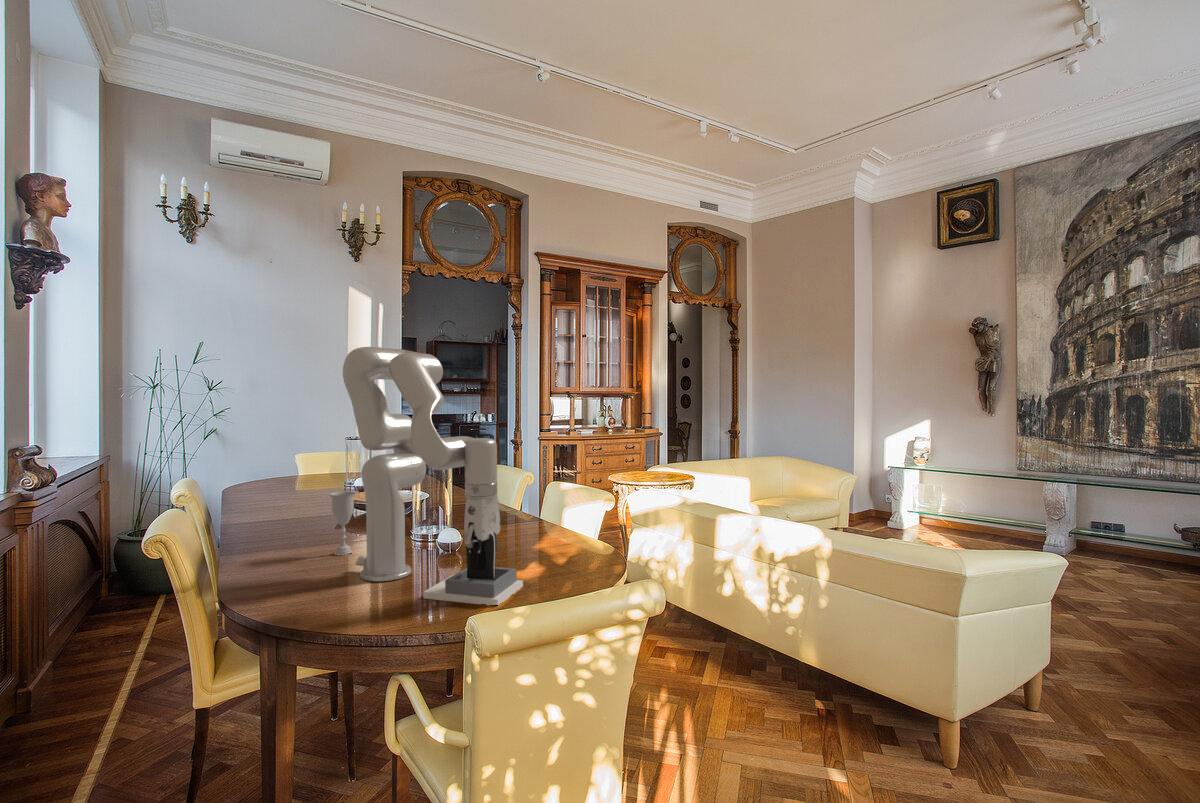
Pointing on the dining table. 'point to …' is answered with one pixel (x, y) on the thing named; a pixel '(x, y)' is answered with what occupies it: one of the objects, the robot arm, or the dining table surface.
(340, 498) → the chalice
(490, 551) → the battery charger
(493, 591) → the dock
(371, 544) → the robot arm
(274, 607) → the dining table surface
